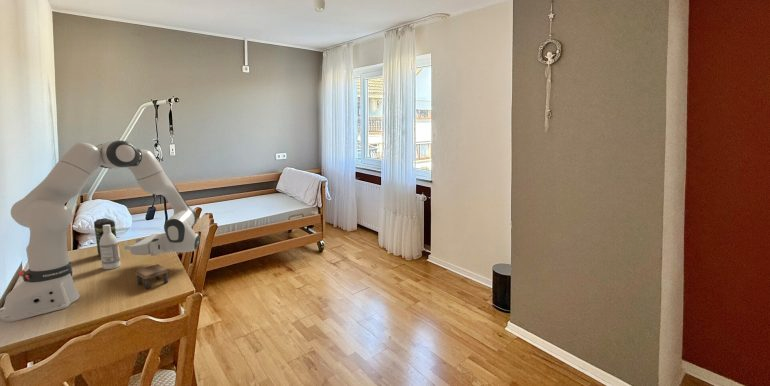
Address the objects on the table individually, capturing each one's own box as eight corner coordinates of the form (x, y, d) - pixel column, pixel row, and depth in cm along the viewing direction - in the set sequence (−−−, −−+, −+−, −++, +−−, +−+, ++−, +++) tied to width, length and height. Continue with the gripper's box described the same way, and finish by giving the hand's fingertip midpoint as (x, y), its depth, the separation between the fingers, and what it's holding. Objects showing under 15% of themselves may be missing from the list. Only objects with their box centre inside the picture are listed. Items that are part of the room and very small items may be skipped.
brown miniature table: (146, 289, 154) (145, 275, 153) (136, 284, 159) (134, 270, 158) (169, 282, 161) (168, 268, 160) (159, 277, 166) (157, 264, 165)
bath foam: (121, 267, 177) (116, 225, 174) (103, 270, 173) (97, 228, 170) (120, 263, 183) (115, 222, 179) (102, 266, 178) (96, 224, 175)
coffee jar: (95, 254, 194) (91, 219, 190) (114, 250, 200) (109, 216, 197) (102, 259, 188) (97, 222, 185) (121, 254, 194) (116, 219, 191)
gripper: (171, 230, 188) (141, 231, 186) (151, 243, 168) (117, 244, 166) (172, 242, 189) (143, 243, 188) (152, 257, 169) (119, 257, 168)
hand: (130, 243), depth 177 cm, fingers open, 8 cm apart
